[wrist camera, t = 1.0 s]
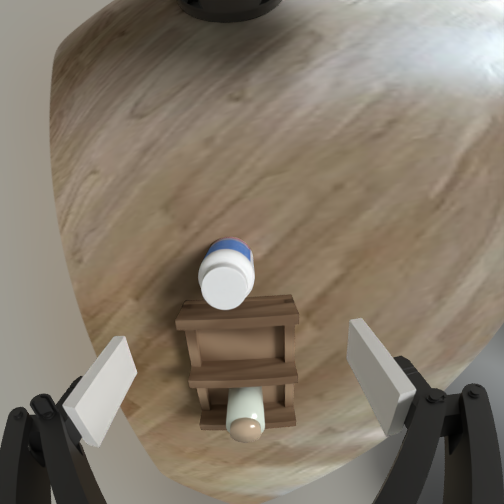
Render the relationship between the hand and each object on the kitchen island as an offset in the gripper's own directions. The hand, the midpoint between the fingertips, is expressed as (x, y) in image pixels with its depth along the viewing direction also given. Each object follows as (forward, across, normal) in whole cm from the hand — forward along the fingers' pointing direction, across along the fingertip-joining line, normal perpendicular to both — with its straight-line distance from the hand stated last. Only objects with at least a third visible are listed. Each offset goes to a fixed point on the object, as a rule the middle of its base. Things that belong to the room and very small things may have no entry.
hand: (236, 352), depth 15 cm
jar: (+18, -1, -18) cm, 25 cm away
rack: (+19, -1, -14) cm, 23 cm away
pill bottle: (+19, -1, 0) cm, 19 cm away
